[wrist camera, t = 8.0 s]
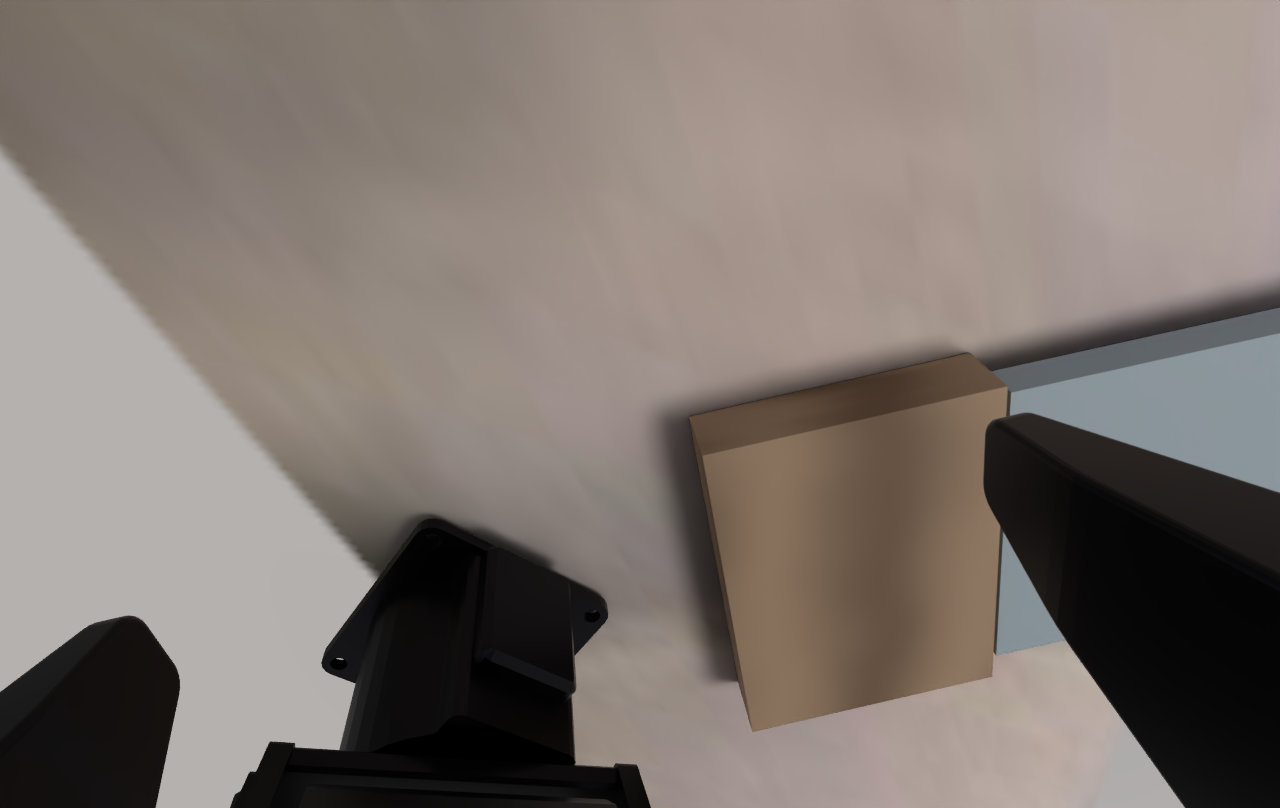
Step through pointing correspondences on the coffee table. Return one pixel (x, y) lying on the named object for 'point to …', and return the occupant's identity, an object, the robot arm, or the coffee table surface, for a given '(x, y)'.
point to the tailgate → (1152, 422)
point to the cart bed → (855, 537)
